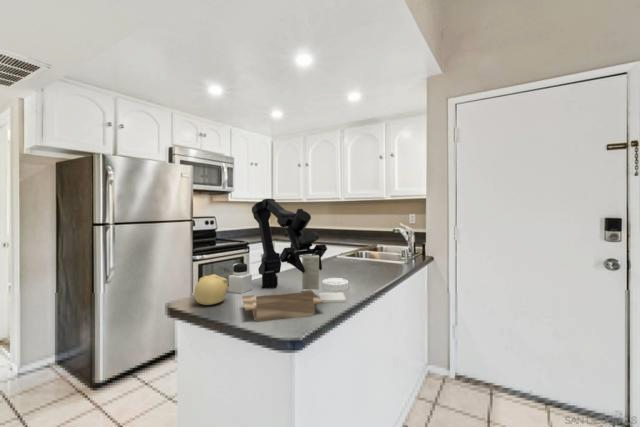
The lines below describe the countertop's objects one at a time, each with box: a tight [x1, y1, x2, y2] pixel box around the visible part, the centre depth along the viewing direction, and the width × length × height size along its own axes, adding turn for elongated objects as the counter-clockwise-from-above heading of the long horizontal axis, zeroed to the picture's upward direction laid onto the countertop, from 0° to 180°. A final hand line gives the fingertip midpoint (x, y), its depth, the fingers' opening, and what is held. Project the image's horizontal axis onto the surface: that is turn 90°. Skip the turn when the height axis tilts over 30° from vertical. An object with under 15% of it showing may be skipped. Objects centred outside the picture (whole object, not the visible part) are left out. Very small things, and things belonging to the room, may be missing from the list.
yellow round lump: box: [194, 273, 229, 306], centre depth 122 cm, size 11×12×11 cm
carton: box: [241, 290, 324, 322], centre depth 113 cm, size 16×26×8 cm, turn 107°
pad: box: [318, 291, 347, 304], centre depth 127 cm, size 10×10×1 cm
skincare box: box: [301, 254, 320, 291], centre depth 118 cm, size 6×4×12 cm
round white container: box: [321, 277, 349, 292], centre depth 144 cm, size 12×12×4 cm
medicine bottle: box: [228, 262, 253, 295], centre depth 139 cm, size 7×7×12 cm
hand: (312, 271), depth 117 cm, fingers closed on skincare box, 7 cm apart
